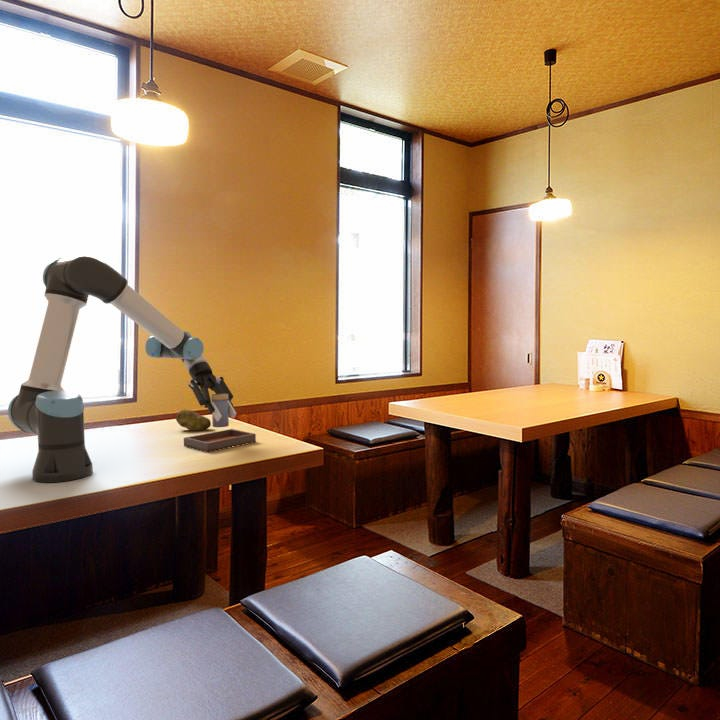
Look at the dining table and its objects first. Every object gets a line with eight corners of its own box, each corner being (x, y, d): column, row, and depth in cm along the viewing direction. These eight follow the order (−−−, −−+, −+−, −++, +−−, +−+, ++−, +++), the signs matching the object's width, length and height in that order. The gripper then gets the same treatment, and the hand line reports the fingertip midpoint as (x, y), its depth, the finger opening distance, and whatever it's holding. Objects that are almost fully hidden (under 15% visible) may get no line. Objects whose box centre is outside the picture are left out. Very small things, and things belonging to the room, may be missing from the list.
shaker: (218, 428, 195) (217, 396, 194) (208, 425, 199) (207, 394, 198) (232, 425, 200) (231, 394, 199) (222, 423, 203) (221, 392, 202)
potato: (201, 432, 219) (201, 412, 219) (172, 431, 223) (172, 411, 222) (213, 428, 227) (212, 408, 227) (184, 427, 231) (184, 407, 230)
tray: (207, 452, 187) (207, 443, 187) (184, 446, 197) (183, 437, 196) (255, 442, 202) (255, 433, 202) (231, 436, 212) (231, 428, 211)
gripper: (215, 372, 215) (243, 420, 206) (171, 376, 201) (199, 428, 192) (223, 358, 211) (252, 407, 202) (179, 362, 197) (208, 414, 188)
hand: (226, 417), depth 197 cm, fingers closed on shaker, 5 cm apart
